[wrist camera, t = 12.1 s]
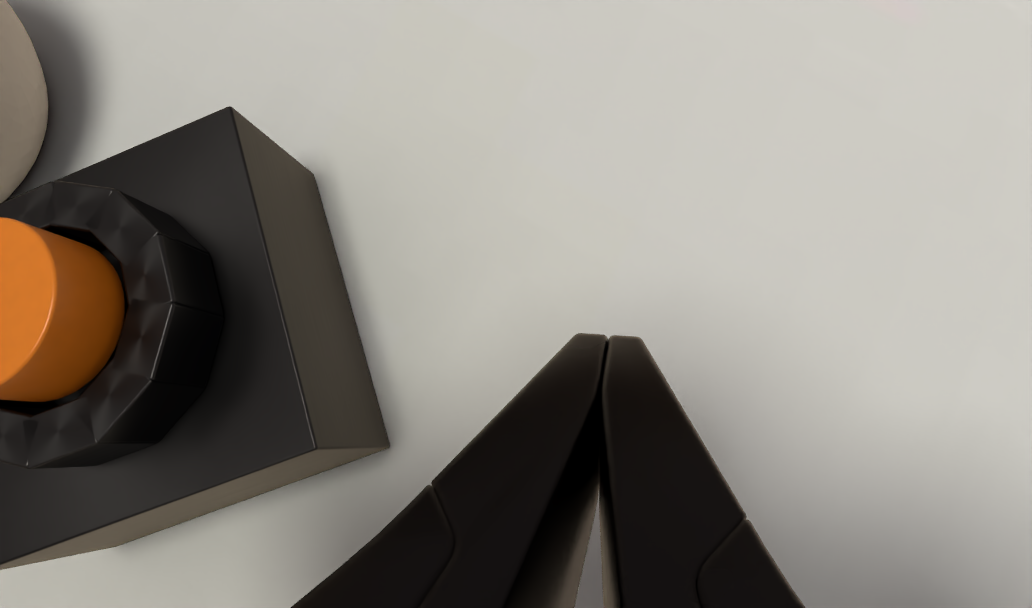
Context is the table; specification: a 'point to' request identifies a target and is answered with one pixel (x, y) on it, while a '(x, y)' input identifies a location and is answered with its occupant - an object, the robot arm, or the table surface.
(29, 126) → the decorative egg
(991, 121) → the table surface
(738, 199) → the table surface
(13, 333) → the button
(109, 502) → the black button base
